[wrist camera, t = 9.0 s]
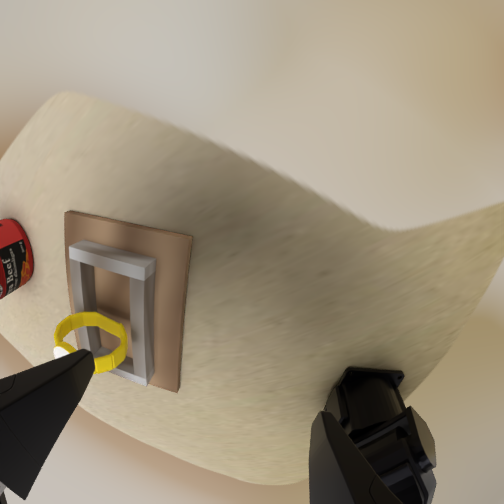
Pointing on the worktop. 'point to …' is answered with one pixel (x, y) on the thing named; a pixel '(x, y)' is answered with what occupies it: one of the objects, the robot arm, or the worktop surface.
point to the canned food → (13, 257)
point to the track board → (130, 293)
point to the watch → (92, 319)
